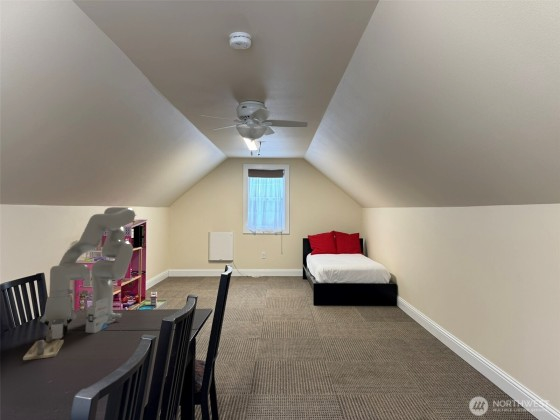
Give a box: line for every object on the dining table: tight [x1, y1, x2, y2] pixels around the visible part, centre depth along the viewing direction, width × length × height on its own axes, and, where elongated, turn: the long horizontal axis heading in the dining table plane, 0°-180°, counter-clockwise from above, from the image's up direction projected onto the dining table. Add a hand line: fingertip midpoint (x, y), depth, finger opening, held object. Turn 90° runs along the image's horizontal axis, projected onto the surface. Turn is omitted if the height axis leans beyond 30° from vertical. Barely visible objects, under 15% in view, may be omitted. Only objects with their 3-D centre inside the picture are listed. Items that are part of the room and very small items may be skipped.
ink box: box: [85, 298, 108, 334], centre depth 156 cm, size 9×5×15 cm, turn 168°
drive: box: [51, 319, 64, 340], centre depth 145 cm, size 4×8×6 cm, turn 24°
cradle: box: [22, 329, 65, 361], centre depth 130 cm, size 10×16×6 cm, turn 24°
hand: (58, 334), depth 145 cm, fingers closed on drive, 4 cm apart
